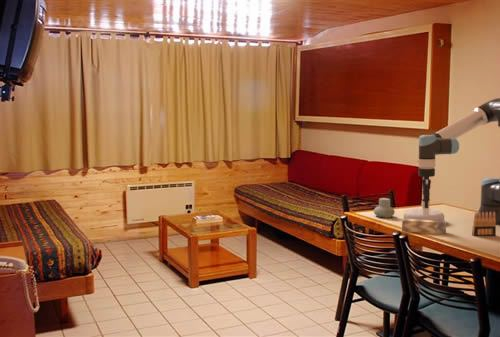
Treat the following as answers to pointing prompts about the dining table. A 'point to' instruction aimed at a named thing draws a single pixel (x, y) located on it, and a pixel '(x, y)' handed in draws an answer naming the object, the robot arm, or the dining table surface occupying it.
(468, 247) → the dining table surface
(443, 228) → the mottled beige block
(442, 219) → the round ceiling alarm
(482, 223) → the ammunition clip
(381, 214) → the air freshener
